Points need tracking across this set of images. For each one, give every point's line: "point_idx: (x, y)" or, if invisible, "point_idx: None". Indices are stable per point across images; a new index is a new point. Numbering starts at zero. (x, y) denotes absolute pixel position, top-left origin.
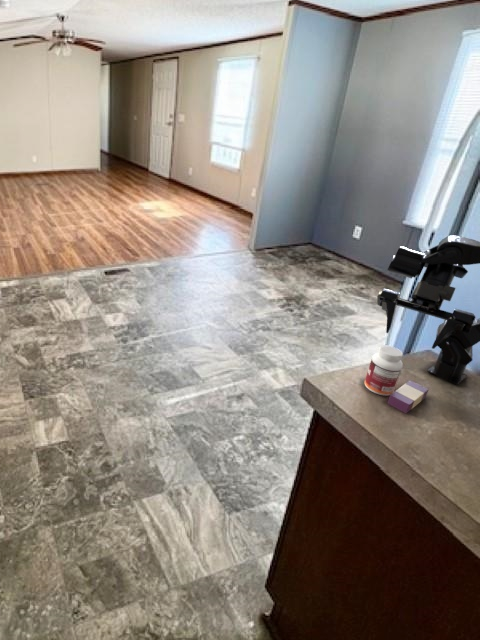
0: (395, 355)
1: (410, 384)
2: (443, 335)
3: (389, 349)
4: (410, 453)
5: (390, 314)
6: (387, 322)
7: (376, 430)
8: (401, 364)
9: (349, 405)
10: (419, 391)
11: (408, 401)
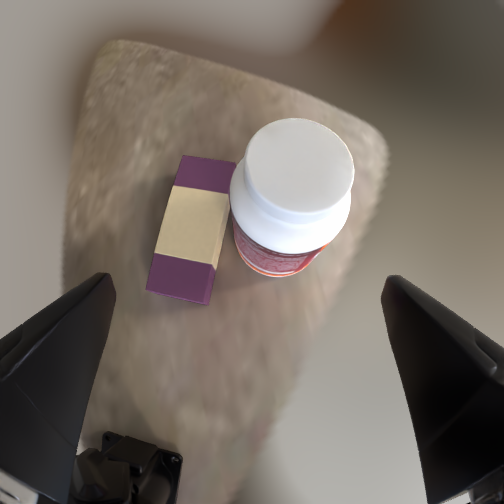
0: (269, 128)
1: (196, 273)
2: (28, 327)
3: (310, 168)
4: (169, 67)
5: (485, 350)
6: (442, 306)
7: (231, 77)
8: (235, 181)
9: (303, 111)
10: (166, 249)
11: (186, 168)
